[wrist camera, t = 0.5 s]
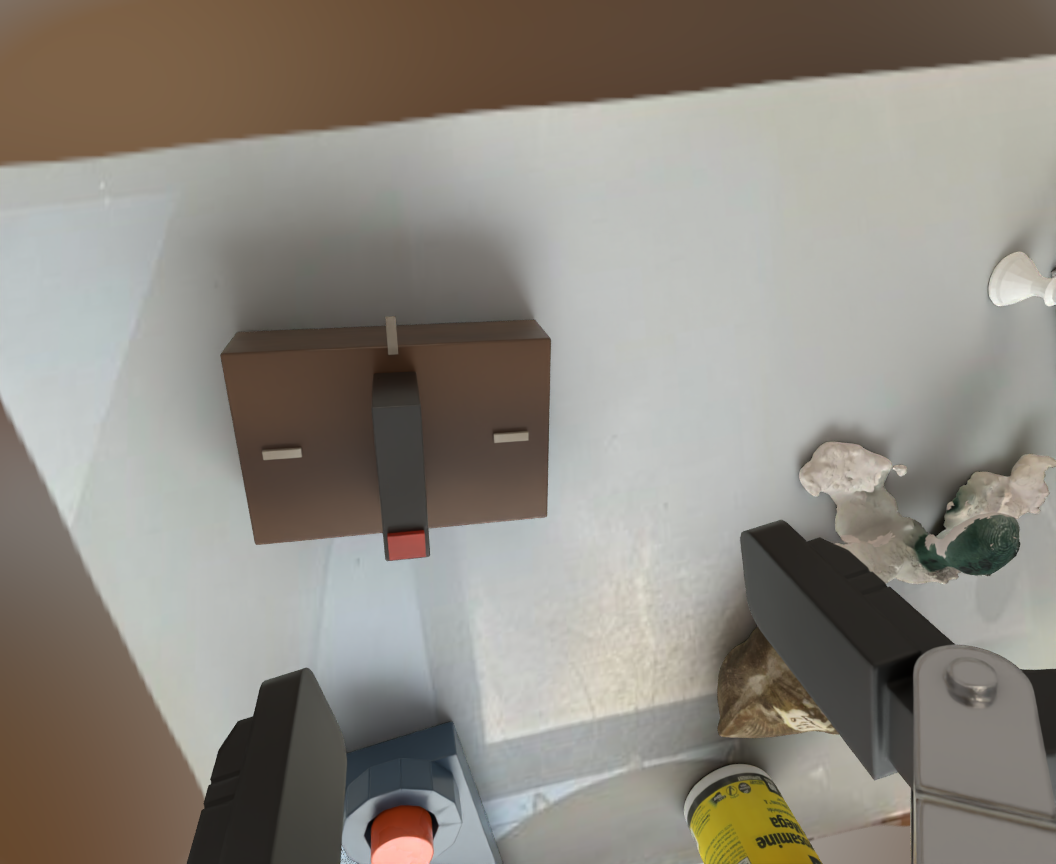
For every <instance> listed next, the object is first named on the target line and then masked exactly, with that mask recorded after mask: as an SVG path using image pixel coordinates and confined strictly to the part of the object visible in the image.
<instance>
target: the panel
mask: <svg viewBox="0 0 1056 864" xmlns="http://www.w3.org/2000/svg"><path fill="white" fill-rule="evenodd" d="M385 320H386V326H367V327H343V328H320V329H296V330H272V331H248V332H237V333H236V334H235V335H234V337H233V338H232V339H231V341H230V342H229V343H228V345H227V346H226V348H225V349H224V350H223V352H222V353H221V355H220V356H221V362H222V367H223V372H224V378H225V383H226V389H227V394H228V400H229V405H230V410H231V416H232V421H233V427H234V432H235V438H236V443H237V448H238V454H239V459H240V465H241V470H242V475H243V481H244V486H245V492H246V497H247V503H248V508H249V513H250V519H251V524H252V530H253V535H254V541H255V544H256V545H261V544H271V543H282V542H292V541H302V540H313V539H323V538H334V537H344V536H355V535H365V534H376V533H383V528H382V518H381V507H380V496H379V485H378V475H377V464H376V453H375V443H374V432H373V421H372V410H371V405H372V383H373V374H375V373H393V372H412V371H415V372H416V373H417V381H418V388H419V395H420V403H421V415H422V432H423V448H424V464H425V481H426V497H427V514H428V528H438V527H449V526H459V525H469V524H480V523H490V522H501V521H511V520H522V519H532V518H542V517H547V497H548V451H549V405H550V359H551V339H550V337H549V336H548V335H547V334H546V332H545V331H544V330H543V329H542V327H541V326H540V325H539V324H538V323H537V321H536V320H510V321H486V322H462V323H439V324H415V325H396V317H395V316H386V317H385Z"/></svg>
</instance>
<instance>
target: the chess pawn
mask: <svg viewBox="0 0 1056 864" xmlns="http://www.w3.org/2000/svg"><path fill="white" fill-rule="evenodd" d="M988 292H989V297H990V298H991V300H992V302H993V303H994V304H995V305H997V306H999V307H1001V306H1005V305H1011V304H1015V303H1018V302H1020V301H1021V300H1023V299H1026V298H1028V297H1031V296H1038V297H1042V298H1044V302H1045V304H1046V305H1047V306H1054V305H1055V304H1056V276H1055V277H1054V278H1046V277H1042V276H1041V274H1040V273H1039V271H1038V270H1037V268H1036V266H1035V264H1034V262H1033V261H1032V259H1030V258H1028V257H1027V255H1026V254H1024V253H1022V252H1016V253H1012V254H1011V255H1008V256H1006V257H1005V258H1004V259H1002V260H1001V261H1000V263H999V264H998V265H997V266H996V267H995V269H994V271H993V273H992V275H991V277H990V282H989V286H988Z"/></svg>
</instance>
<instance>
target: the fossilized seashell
mask: <svg viewBox="0 0 1056 864" xmlns="http://www.w3.org/2000/svg"><path fill="white" fill-rule="evenodd" d="M717 700H718V707H719V713H720V720H719V723H718V727H717V731H718V734H719V736H722V737H732V738H733V737H740V738H762V737H775V736H783V735H791V734H798V733H803V732H808V731H819V732H826V733H830V734H839V733H838V732H837V731H836V729H835V728H834V727H833V725H832V724H831V723H830V721H829V720H828V719H827V717H826V716H825V715H824V713H823V712H822V711H821V710H820V708H819V707H818V706H817V704H816V703H815V702H814V700H813V699H812V698H811V696H810V695H809V694H808V693H807V691H806V690H805V689H804V687H803V686H802V685H801V683H800V682H799V681H798V679H797V678H796V677H795V675H794V674H793V673H792V672H791V670H790V669H789V668H788V666H787V665H786V664H785V662H784V661H783V660H782V658H781V657H780V656H779V654H778V653H777V652H776V651H775V649H774V648H773V647H772V645H771V644H770V643H769V641H768V640H767V639H766V637H765V636H764V635H763V633H762V632H761V631H760V629H759V628H758V626H757V627H756V629H754V630H753V632H752V633H751V635H750V636H749V638H748V639H747V640H746V641H745V642H744V643H741V644H739V645H737V646H736V647H735V648H733V649H732V650H731V651H730V652H729V653H728V655H727V656H726V657H725V659H724V661H723V663H722V666H721V668H720V671H719V676H718V688H717Z"/></svg>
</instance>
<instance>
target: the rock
mask: <svg viewBox="0 0 1056 864" xmlns="http://www.w3.org/2000/svg"><path fill="white" fill-rule="evenodd" d="M1049 467H1052V468H1053V467H1056V460H1054V459H1053V458H1051V457H1049V456H1040V455H1034V454H1026V455H1022V456H1021V457H1020V459H1019V461H1017V462H1016V464H1015V466H1014V467H1013V469H1012V471H1011V476H1009V477H1006V476H1002V475H999V474H997V475H995V474H993V473H990V472H975V473H974V474H973V475H971V479H969V480H968V481H967V485H963V486H962V487H960V488H959V491H958V492H957V494H956V497H955V498H954V499H953V501H952V502H949V503H948V504H947V509H946V514H945V515H944V519H945V522H944V527H946V530H944V531H942V532H941V533H939V534H938V535H937V536H936V537H935V536H934V534H933V535H931V534H930V533H928V532H926V531H925V529H924V528H923V527H922V525H921V523H919V522H917V521H916V520H913V519H912V518H910V517H908V518H907V517H902V516H901V515H900V513H899V512H897V510H898V507H897V504H896V500H895V499H894V497H893V496H892V495H891V494H890V493H887V490H885V487H884V482H885V480H886V477H887V475H888V474H889V472H890V470H891V468H892V463H891V461H890V460H889V459H887V458H885V457H883V456H882V455H879V454H875V453H872V452H870V451H868V450H866V449H864V448H863V447H862V446H860V445H858V444H851V443H839V442H834V441H831V442H826V443H824V444H822V445H821V446H820V447H818V449H817V450H816V451H815V452H814V454H813V457H812V459H811V461H810V462H808V463H806V464H805V465H804V467H802V468H801V470H800V473H799V479H800V481H801V483H802V485H803V487H804V488H805V489H806V490H807V491H808V492H809V493H810V494H811V495H813V496H815V497H817V496H819V492H821V491H822V492H825V493H827V494H830V496H831V498H832V500H833V501H834V502H835V504H836V505H837V508H836V510H837V514H836V517H835V528H836V530H835V531H836V532H838V535H839V536H840V537H841V540H843V541H845V542H847V543H848V544H839V543H834V544H836V545H838V546H841V547H843V548H845V549H847V550H849V551H850V552H851V553H852V554H853V555H855V556H856V557H857V558H858V559H859V560H860V561H861V562H862V563H864V564H865V565H866V566H867V567H868V568H869V571H870V572H874V573H875V574H876V575H877V576H878V577H879V578H881V579H882V580H883V581H884V582H885V583H888V582H889V581H890V580H892V579H894V578H897V579H898V580H901V581H903V582H907V583H911V584H923V583H927V582H940V583H941V584H942V583H943V584H947V583H948V581H949V580H952V579H957V578H958V577H959V576H958V573H961V572H963V573H966V574H970V575H976V576H977V575H979V576H982V575H983V576H984V575H985V576H988V575H989V576H990V574H992V573H994V572H996V571H997V570H999V569H1000V568H1002V567H1004V566H1005V565H1006V564H1007V563H1008V562H1010V561H1011V560H1012V559H1013V558H1014V557H1015V556H1016V554H1017V552H1018V551H1019V547H1020V542H1019V525H1018V522H1017V520H1016V519H1018V518H1019V517H1020V516H1022V515H1023V514H1025V513H1027V512H1029V513H1033V514H1038V513H1040V509H1039V507H1040V506H1041V505H1042V504H1043V503H1044V502H1045V498H1046V497H1047V496H1048V495H1049V493H1050V492H1049V490H1048V487H1047V484H1046V483H1045V481H1044V478H1045V476H1046V475H1045V471H1046V470H1047V469H1048V468H1049ZM893 470H896V472H897V474H898V475H899V476H903V475H904V474H906V472H907V467H906V466H904V465H895V466H893Z"/></svg>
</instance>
